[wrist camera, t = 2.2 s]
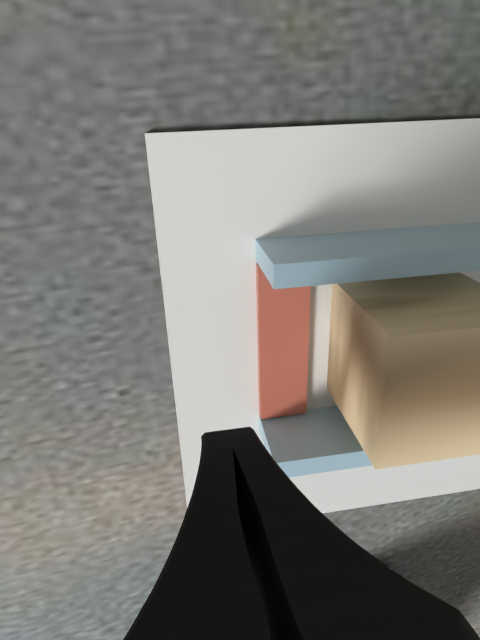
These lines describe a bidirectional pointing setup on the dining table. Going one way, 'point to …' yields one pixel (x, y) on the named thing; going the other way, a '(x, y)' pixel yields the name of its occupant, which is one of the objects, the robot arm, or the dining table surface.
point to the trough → (293, 326)
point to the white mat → (286, 221)
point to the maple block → (408, 366)
